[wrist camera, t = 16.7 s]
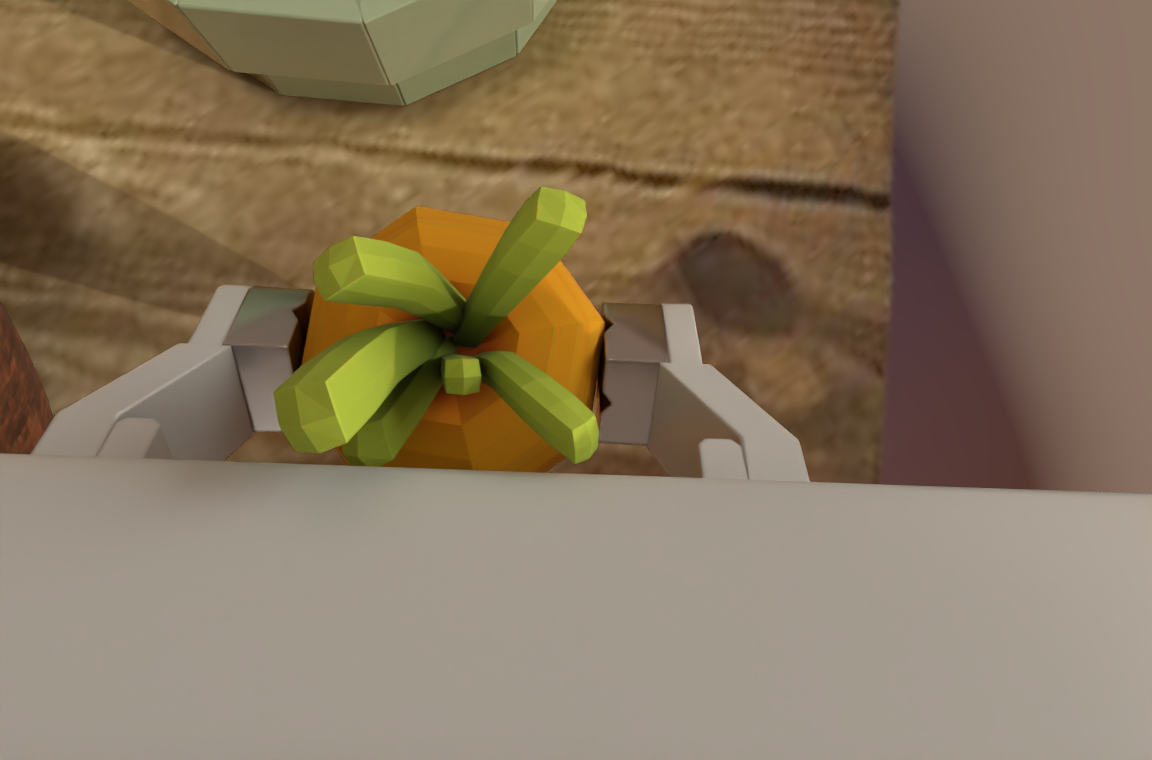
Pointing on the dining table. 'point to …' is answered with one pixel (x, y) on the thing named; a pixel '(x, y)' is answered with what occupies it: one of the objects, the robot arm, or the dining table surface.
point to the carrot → (451, 345)
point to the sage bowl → (354, 41)
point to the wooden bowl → (19, 394)
